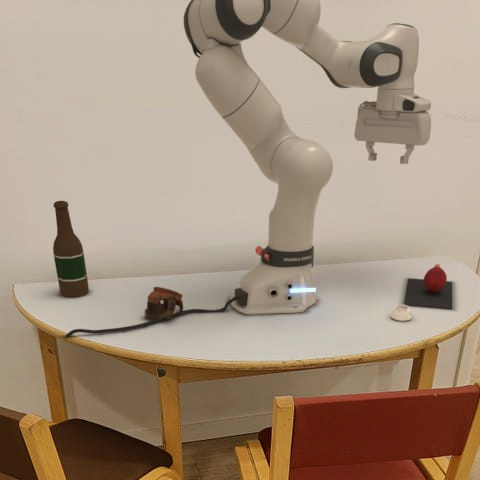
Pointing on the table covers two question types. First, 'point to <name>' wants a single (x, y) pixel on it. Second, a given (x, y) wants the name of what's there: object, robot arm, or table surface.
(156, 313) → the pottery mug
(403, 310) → the white jar
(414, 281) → the placemat
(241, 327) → the table surface
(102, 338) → the table surface
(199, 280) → the table surface
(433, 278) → the red round fruit
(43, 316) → the table surface
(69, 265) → the beer bottle
